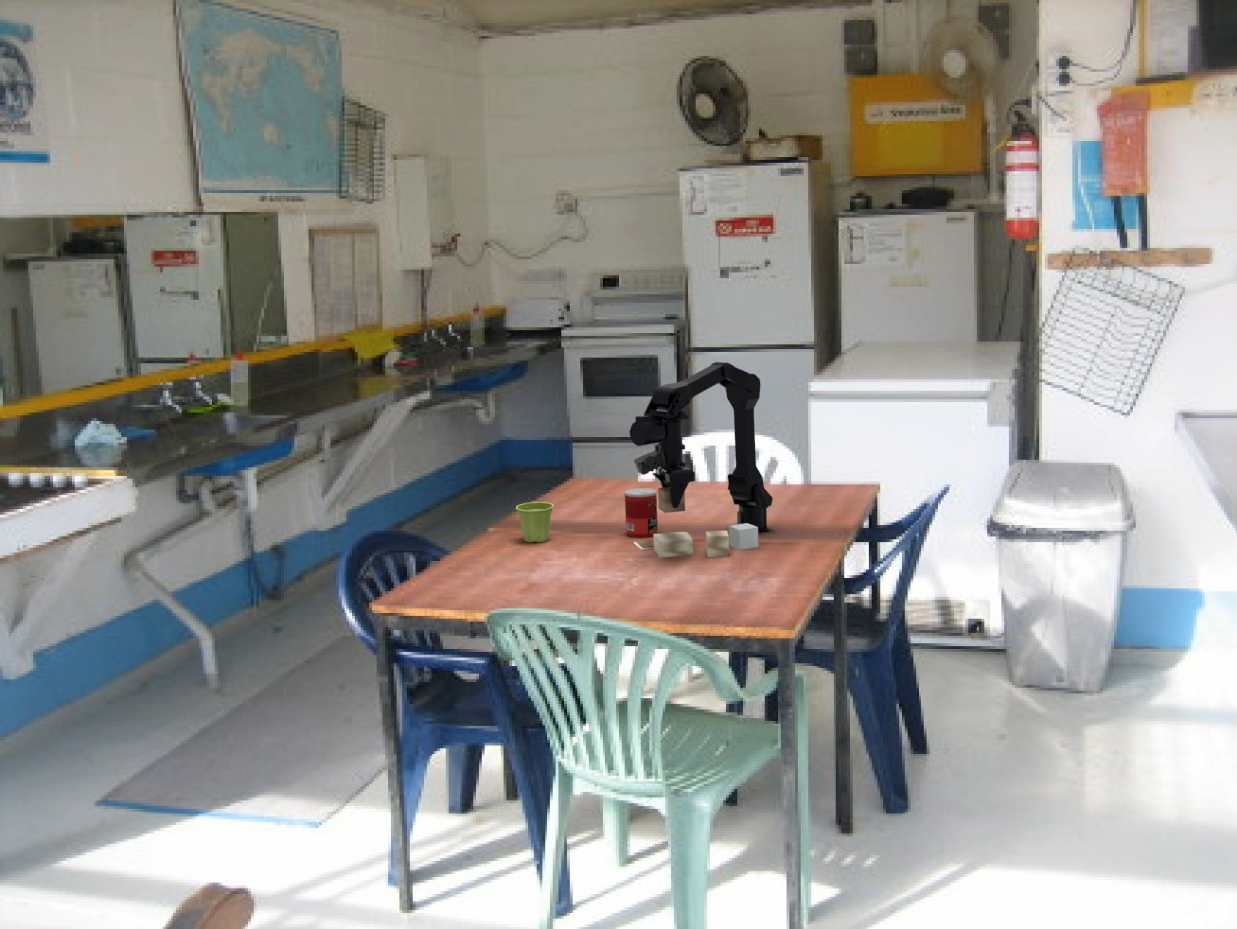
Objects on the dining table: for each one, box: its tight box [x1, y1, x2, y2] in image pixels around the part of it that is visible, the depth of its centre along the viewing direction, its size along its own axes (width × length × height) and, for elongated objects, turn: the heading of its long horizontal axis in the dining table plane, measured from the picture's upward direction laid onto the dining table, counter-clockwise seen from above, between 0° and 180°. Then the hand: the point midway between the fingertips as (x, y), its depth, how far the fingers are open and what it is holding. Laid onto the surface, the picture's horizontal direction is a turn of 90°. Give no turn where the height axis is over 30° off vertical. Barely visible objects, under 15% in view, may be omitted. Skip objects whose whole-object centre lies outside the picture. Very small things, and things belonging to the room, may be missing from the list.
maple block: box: [705, 530, 730, 558], centre depth 311 cm, size 5×5×5 cm
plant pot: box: [515, 501, 555, 543], centre depth 331 cm, size 9×9×9 cm
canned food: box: [624, 487, 659, 538], centre depth 332 cm, size 8×8×11 cm
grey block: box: [728, 523, 759, 551], centre depth 316 cm, size 5×5×5 cm
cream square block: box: [652, 531, 694, 558], centre depth 314 cm, size 8×8×4 cm
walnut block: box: [657, 487, 686, 514], centre depth 312 cm, size 5×5×5 cm
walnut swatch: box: [633, 539, 654, 551], centre depth 321 cm, size 7×7×1 cm
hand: (671, 505), depth 313 cm, fingers closed on walnut block, 5 cm apart
